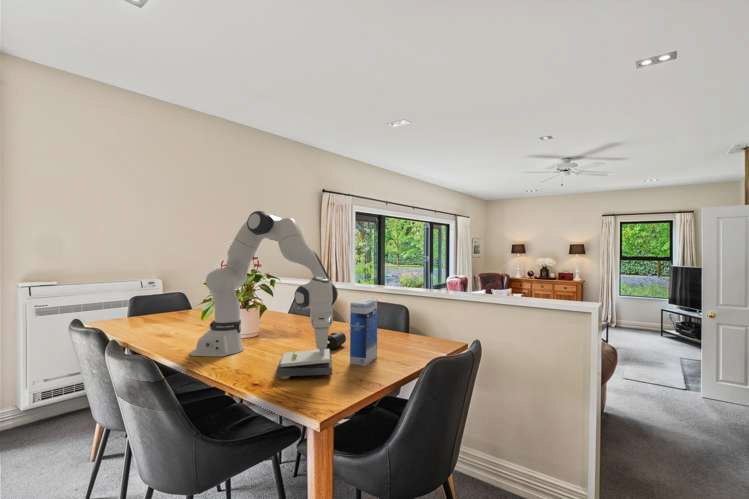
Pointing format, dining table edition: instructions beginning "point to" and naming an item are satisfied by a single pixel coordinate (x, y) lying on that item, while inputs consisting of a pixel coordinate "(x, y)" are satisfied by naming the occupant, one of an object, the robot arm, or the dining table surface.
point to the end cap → (335, 340)
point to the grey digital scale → (304, 370)
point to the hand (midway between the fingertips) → (322, 354)
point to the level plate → (304, 358)
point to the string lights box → (363, 331)
